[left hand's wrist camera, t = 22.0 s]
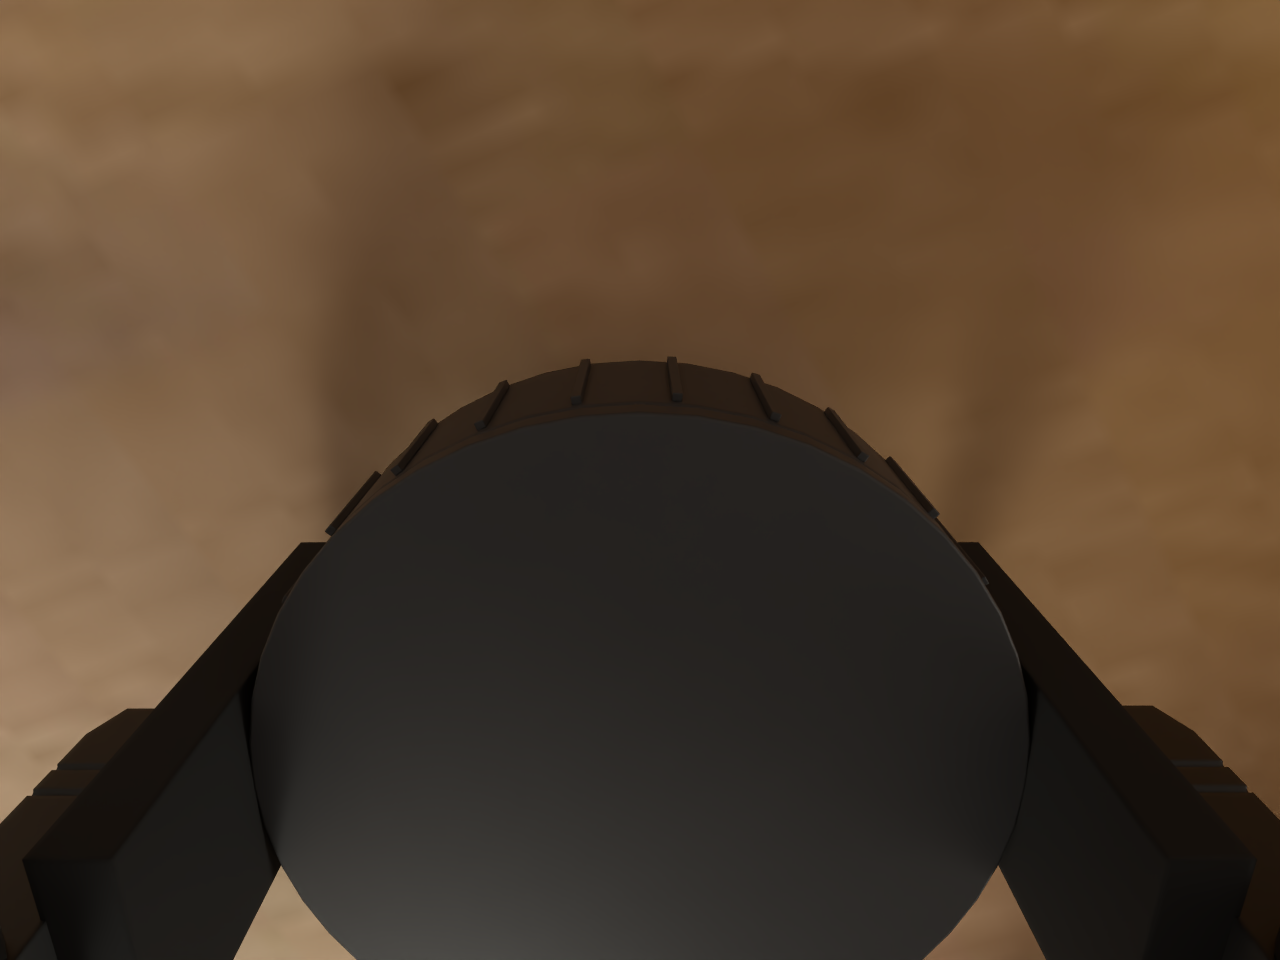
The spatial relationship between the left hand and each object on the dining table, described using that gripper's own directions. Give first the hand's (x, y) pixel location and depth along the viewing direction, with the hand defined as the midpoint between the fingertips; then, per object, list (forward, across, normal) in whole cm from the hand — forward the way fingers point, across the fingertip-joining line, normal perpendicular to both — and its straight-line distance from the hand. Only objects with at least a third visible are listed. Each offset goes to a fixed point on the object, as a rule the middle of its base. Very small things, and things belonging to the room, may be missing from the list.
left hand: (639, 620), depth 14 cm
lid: (-4, 0, 0) cm, 4 cm away
